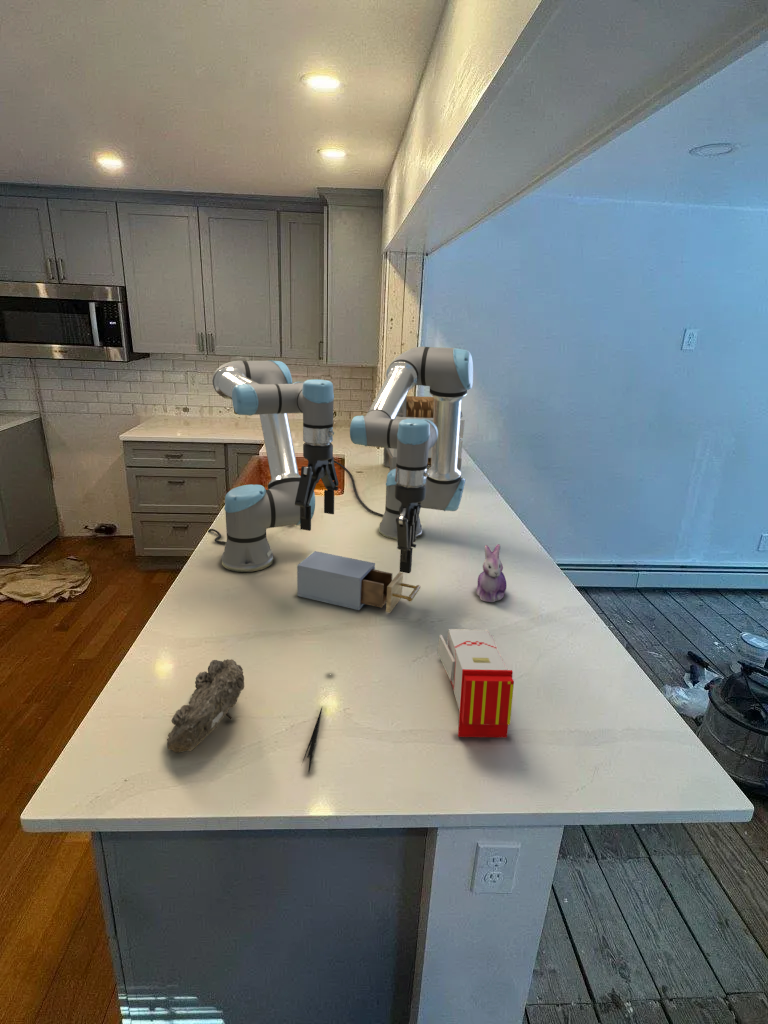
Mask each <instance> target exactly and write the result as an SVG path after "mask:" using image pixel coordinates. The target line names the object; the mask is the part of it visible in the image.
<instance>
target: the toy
mask: <svg viewBox="0 0 768 1024" xmlns="http://www.w3.org/2000/svg"><path fill="white" fill-rule="evenodd" d="M446 640H447V643H446V641H445V639H444V636H443V635H442V634H439V637H438V646H437V656H438V657H439V659H440V661H441V663H442V666H443V668H444V670H445V672H446V674H447V677H448V679H449V681H450V684H451V687H452V690H453V693H454V697H455V701H456V705H457V708H458V711H459V714H458V715H459V716H458V730H457V731H458V732H457V737H458V738H508V731H509V726H510V725H511V717H512V707H513V697H514V696H513V695H514V684H515V680H514V679H513V673H514V671H513V670H512V669H508V667H507V665H506V662H505V661H504V659H503V658H502V655H501V653H500V651H499V649H498V647H497V643H496V639H495V637H494V635H493V634H491V632H490V631H489V629H467V628H466V629H465V628H463V629H461V628H460V629H459V628H448V630H447V639H446Z"/></svg>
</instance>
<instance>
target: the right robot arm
mask: <svg viewBox="0 0 768 1024" xmlns="http://www.w3.org/2000/svg"><path fill="white" fill-rule="evenodd" d="M385 376H386V377H385V380H384V382H383V383H382V385H381V387H380V389H379V391H378V393H377V394H376V397H375V398H374V400H373V402H372V404H371V406H370V407H369V409H368V411H367V413H366V415H355V416H353V418H352V419H351V422H350V424H349V437H350V440H351V443H353V444H354V445H359V446H364V447H372V448H373V447H374V448H383V449H384V448H392V449H397V463H396V469H393V470H391V471H390V470H389V472H388V473H387V475H386V482H385V504H384V505H385V507H384V508H385V509H384V513H380V512H377V511H374V510H373V509H371V508H370V507H368V506H367V505H366V504H365V503H364V501H362V499H361V498H360V496H359V494H358V492H357V489H356V485H355V480H354V477H353V475H352V474H351V472H350V471H349V469H348V468H347V467H346V466H344V465H343V464H342V463H340V462H338V461H337V460H334V464H336V465H338V466H340V467H341V468H342V469H344V471H346V472H347V473H348V475H349V477H350V479H351V484H352V488H353V491H354V492H353V493H354V495H355V497H356V498H357V500H358V502H359V503H360V504H361V505H362V506H363V507H364V508H365V509H366V510H367V511H368V512H370V513H372V514H374V515H376V516H379V517H382V519H381V522H379V527H378V533H379V534H380V535H381V536H382V537H385V538H387V539H389V540H395V541H397V542H396V543H397V547H396V549H397V550H400V552H399V554H400V555H399V569H398V570H399V572H400V573H403V574H404V573H405V574H411V572H412V564H413V563H412V562H413V548H415V549H416V548H417V544H416V541H417V539H418V538H420V537H421V536H422V535H423V525H422V524H421V518H420V512H421V508H422V509H428V510H436V511H443V512H456V511H457V510H458V509H459V508H460V504H461V501H462V498H463V493H464V489H465V484H466V479H465V478H464V477H462V471H461V472H460V470H458V469H457V459H458V444H459V429H460V415H461V412H462V401H463V399H464V398H465V397H466V396H467V395H468V391H470V390H472V388H473V384H474V363H473V357H472V354H471V352H470V351H469V350H467V349H462V348H457V347H441V346H440V347H437V346H435V347H434V346H422V345H421V346H415V347H412V348H410V349H408V350H406V351H404V352H402V353H400V354H399V355H398V356H396V357H395V358H394V359H393V360H392V361H391V363H390V364H389V365H388V367H387V369H386V373H385ZM416 386H423V387H429V395H431V397H434V412H433V422H432V421H430V420H427V419H404V420H398V419H395V418H396V416H397V414H398V412H399V410H400V408H401V406H402V404H403V402H404V400H405V398H406V396H408V393H409V391H410V390H412V389H414V387H416ZM430 448H432V456H431V465H430V466H429V468H428V466H427V461H428V451H429V450H430ZM399 572H398V573H399Z"/></svg>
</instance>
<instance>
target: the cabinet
mask: <svg viewBox="0 0 768 1024" xmlns="http://www.w3.org/2000/svg"><path fill="white" fill-rule="evenodd" d="M296 569H297V570H296V576H297V577H296V582H297V585H296V586H297V590H296V591H297V597H300V598H304V599H308V600H313V601H318V602H320V603H321V602H322V603H326V604H330V605H335V606H338V607H339V606H340V607H342V608H348V609H351V610H355V611H360V610H361V609H362V608H363V607H364V606H365V604H363V603H361V580H362V579H363V578H364V577H365V576H366V575H367V574H368V573H369V572H370V571H371V570H372V569H374V570H376V563H375V562H373V561H372V562H371V561H367V560H362V559H358V558H352V557H346V556H342V555H336V554H333V553H327V552H322V551H318V550H314V551H313V552H311V553H310V554H309V555H308V556H307V557H306V558H304V559H303V560H302V561H300V562H299V563H298V564H296Z"/></svg>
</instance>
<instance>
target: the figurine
mask: <svg viewBox="0 0 768 1024" xmlns="http://www.w3.org/2000/svg"><path fill="white" fill-rule="evenodd" d="M500 553H501V545H500V544H496V545H495V547H494V549H493V550H491V547H490V546H489V545H487V544H485V545H484V561H483V564H482V570H483V571H482V572H481V573H480V574H478V576H477V586H476V595H477V596H478V597H479V599H480V600H481V601H483V602H488V603H495V602H496V601H501V600H502V599H503V598H504V596H505V593H506V590H507V580H506V576H505V574H504V572H503V570H504V566H503V562H502V560H501V558H500Z"/></svg>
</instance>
